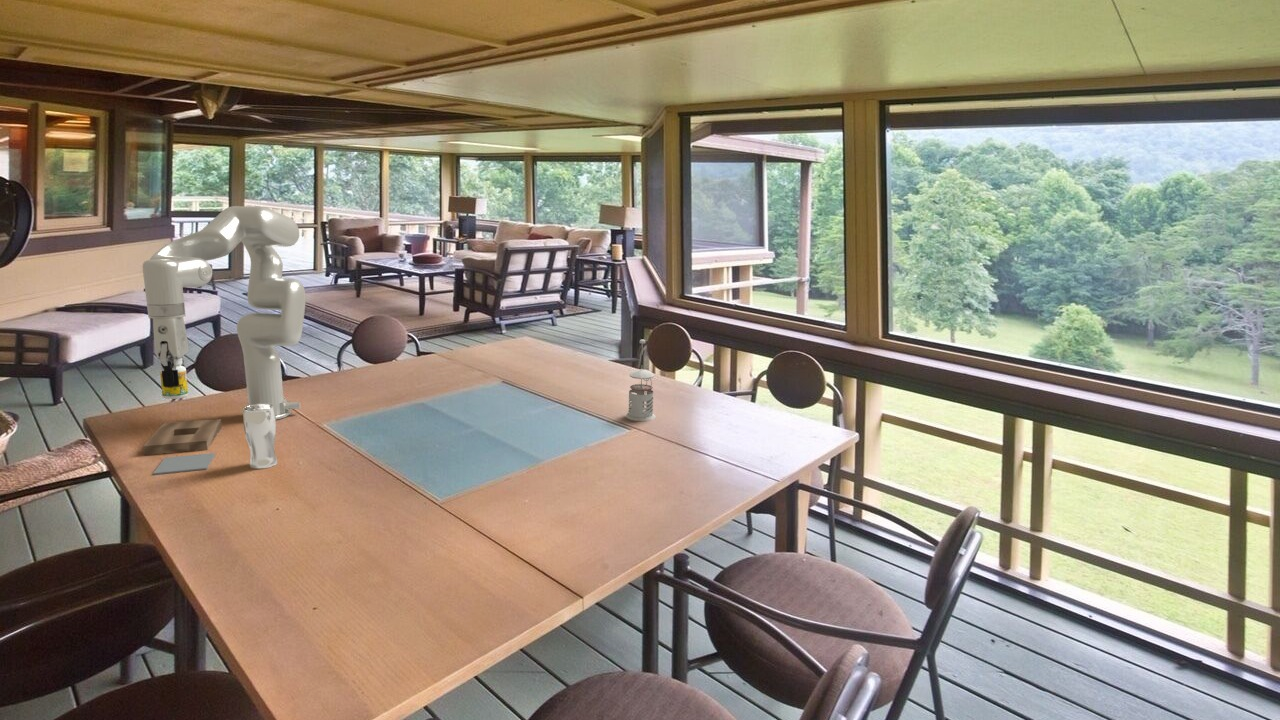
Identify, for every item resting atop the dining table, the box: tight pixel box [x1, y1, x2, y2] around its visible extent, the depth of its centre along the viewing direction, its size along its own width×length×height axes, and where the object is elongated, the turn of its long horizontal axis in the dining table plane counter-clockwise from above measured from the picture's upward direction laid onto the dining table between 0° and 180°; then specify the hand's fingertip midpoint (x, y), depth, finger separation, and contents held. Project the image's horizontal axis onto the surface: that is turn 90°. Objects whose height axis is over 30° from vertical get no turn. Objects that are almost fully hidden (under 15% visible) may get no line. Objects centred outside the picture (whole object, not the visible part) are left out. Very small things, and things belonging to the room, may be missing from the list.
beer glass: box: [242, 403, 278, 470], centre depth 172 cm, size 7×7×15 cm
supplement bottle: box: [159, 358, 189, 400], centre depth 171 cm, size 5×5×10 cm
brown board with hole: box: [143, 418, 222, 456], centre depth 189 cm, size 14×20×2 cm
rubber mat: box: [152, 452, 216, 476], centre depth 172 cm, size 11×11×1 cm
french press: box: [625, 339, 657, 422], centre depth 219 cm, size 10×12×25 cm
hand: (174, 382), depth 172 cm, fingers closed on supplement bottle, 5 cm apart
